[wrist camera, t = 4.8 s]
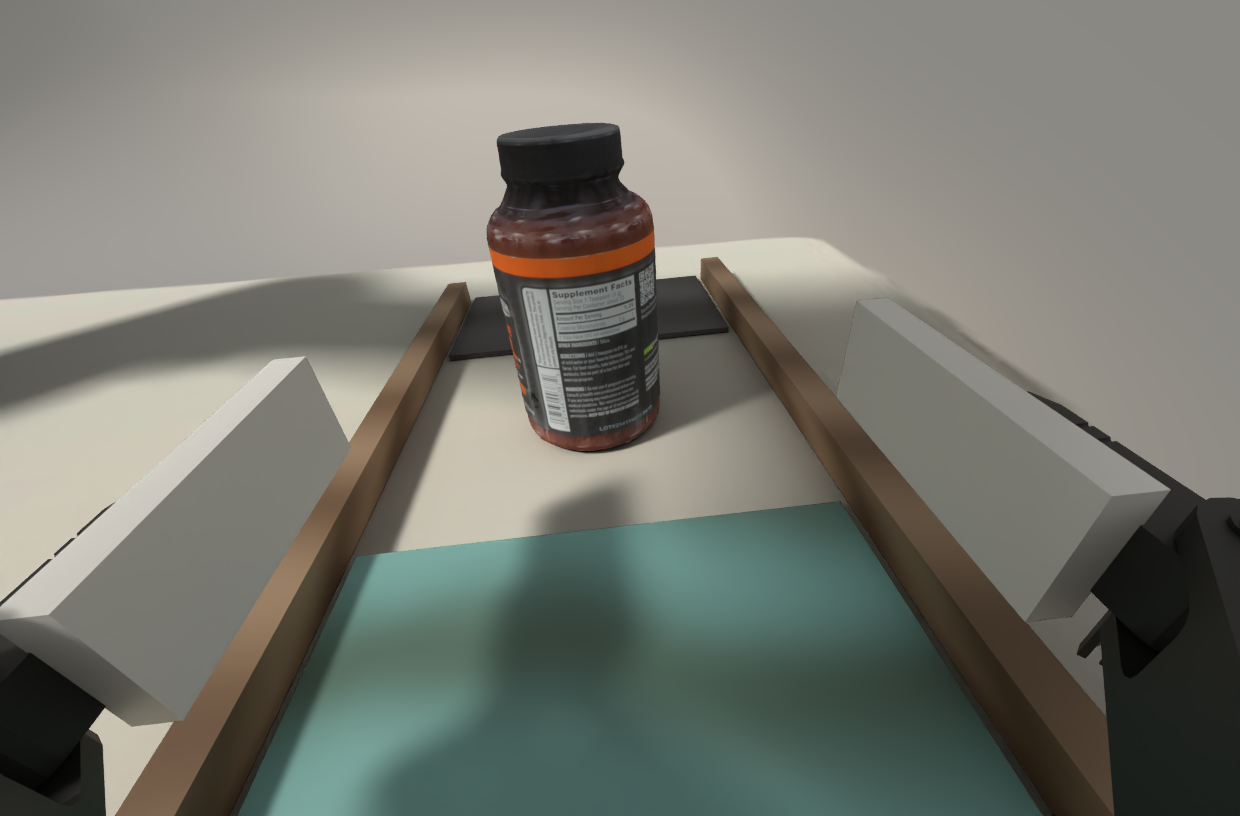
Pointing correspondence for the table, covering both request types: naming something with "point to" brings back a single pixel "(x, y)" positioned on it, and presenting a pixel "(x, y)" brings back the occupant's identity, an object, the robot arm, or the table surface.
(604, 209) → the supplement bottle
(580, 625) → the channel track
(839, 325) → the table surface
